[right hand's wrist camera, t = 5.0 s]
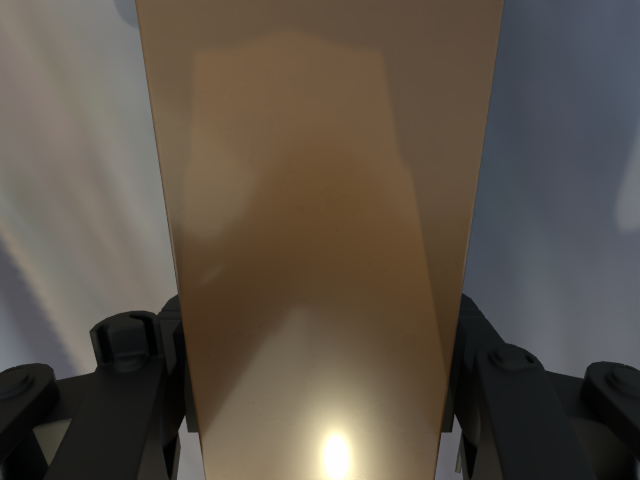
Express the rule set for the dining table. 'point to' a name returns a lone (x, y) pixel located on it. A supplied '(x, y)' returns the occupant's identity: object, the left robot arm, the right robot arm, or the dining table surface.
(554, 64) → the dining table surface
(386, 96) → the beam
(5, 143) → the dining table surface
